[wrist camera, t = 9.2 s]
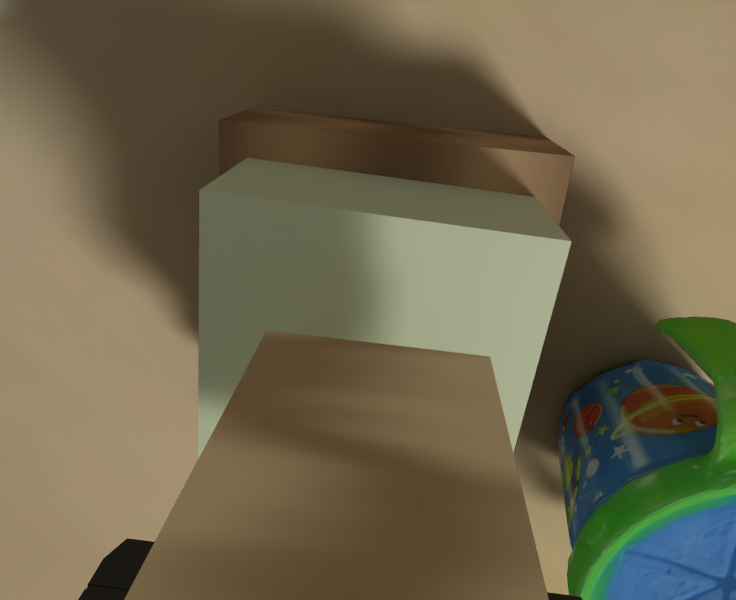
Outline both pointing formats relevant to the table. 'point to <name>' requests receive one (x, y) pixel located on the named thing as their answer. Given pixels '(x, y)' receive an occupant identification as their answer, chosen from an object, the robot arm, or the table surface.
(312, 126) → the walnut slab
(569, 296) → the table surface
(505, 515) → the oak block
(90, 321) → the table surface
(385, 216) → the sage slab
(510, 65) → the table surface
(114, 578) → the robot arm
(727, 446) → the snack cup
